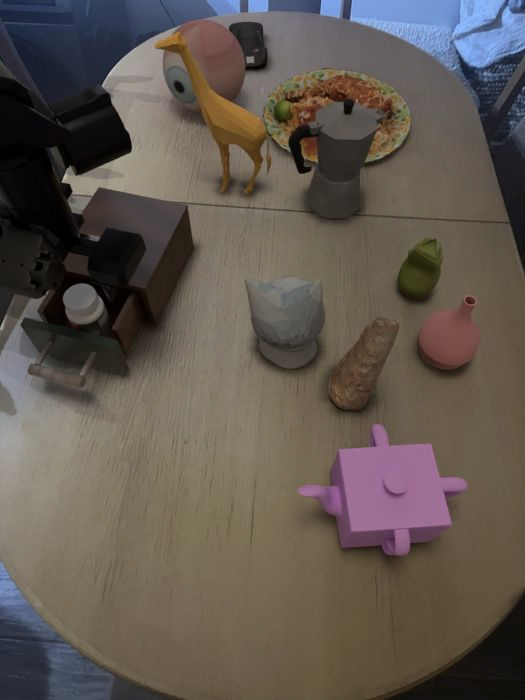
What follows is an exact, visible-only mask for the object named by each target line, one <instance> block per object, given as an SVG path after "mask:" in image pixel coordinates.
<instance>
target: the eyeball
mask: <svg viewBox="0 0 525 700" xmlns="http://www.w3.org/2000/svg"><path fill="white" fill-rule="evenodd" d="M182 29H183V32H182V33H183V37H184V38H185V39H186V40H187V47H188V49H189V51H190V53H191V55H192V57H193V59H194V61H195V63H196V65H197V67H198V69H199V71H200V72H201V74H202V76H203V77H204V79H205V81H206V82H207V84H208V86H209V87H210V89H212V90H213V91H214V92H215V93H216V94H217V95H219V96H221V97H223V98H224V99H226V100H228V101H230V102H232V103H234V101H235V100H236V98H237V97H238V96H239V94H240V92H241V91H242V89H243V85H244V83H245V79H246V71H245V59H244V54H243V51H242V49H241V46H240V44H239V42H238V41H237V39H236V38H235V36H234V35H233V34H232V33H231V32H230V31H229V28H228V27H226V26H224V25H223V24H221V23H219V22H217V21H214V20H212V19H206V18H202V19H201V18H200V19H199V18H198V19H193V20H190V21H187V22H185V23H183V24H181V25H180V26H179V27H177V28H176V30H174V31H173V33H172V34H171V35H173V34H175V33H177V32H180V31H181V30H182ZM162 73H163V77H164V81H165V83H166V85H167V88H168V90H169V91H170V93H171V94H172V96H173V97H174V98H175V100H176V101H177V102H178V103H180V104H181V105H182V106H183V107H184V108H187V109H189V110H190V111H193V112H196V113H200V114H202V111H201V107H200V104H199V102H198V99H197V97H196V96H195V93H194V90H193V87H192V84H191V81H190V78H189V75H188V72H187V69H186V67H185V65H184V62H183V60H182V58H181V56H180V54H178V53H174V52H170V51H166V50H163V56H162Z"/></svg>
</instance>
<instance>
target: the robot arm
mask: <svg viewBox="0 0 525 700" xmlns="http://www.w3.org/2000/svg"><path fill="white" fill-rule="evenodd" d="M47 149H49V151H50V152H51V154H52V156H53V158H54V160H55V162H57V164H58V165H59V166H60V168H61V169H62V170H64V171H65V170H67V169H70V168H71V170H72V171H73V174H74V176H76V177H77V176H82V175H84V174H87V173H88V172H91V171H93V170H95V169H97V168H100V167H102V166H105V165H107V164H109V163H111V162H113V161H116V160H118V159H120V158H123V157H125V156H127V155H129V154H131V153H132V151H133V144H132V139H131V135H130V132H129V131H128V130H127V128H126V127H125V124H124V122H123V120H122V118H121V116H120V113H119V112H118V111H117V109H116V107H115V106H114V104H113V101H112V98H111V94H110V93H109V92H108V90H106V89H105V88H104V87H103V86H102V85H101V84H99V83H95V84H92V85H90V86H88V87H86V88H84V89H82V90H81V91H80V92H78V93H75V94H73V95H70V96H67V97H65V98H63V99H59V100H58V101H55V102H52V103H50V104H48V105H47V104H46V103H45V102H44V101H43V100H42V99H41V97H40V96H39V95H38V94H37V93H36V92H35V91H34V90H32V89H30V88H29V87H28V86H25V85H23V84H22V83H21V81H20V80H18V78H17V77H16V75H14V74H13V73H12V71H11V70H9V68H8V67H7V66H6V65H5V64H4V62H3V61H2V60H1V59H0V201H1V203H0V290H2V291H4V292H6V293H7V294H13V295H18V296H20V297H21V296H22V297H25V298H30V299H31V300H39V299H41V298H43V297H46V295H47V294H48V292H49V291H50V290H51V291H57V290H58V289H59V288H60V285H61V283H62V280H63V277H64V274H65V271H66V269H65V265H64V264H63V263H62V262H64V260H65V259H66V257H67V256H68V252H70V253H74V254H78V255H83V256H87V257H88V266H87V270H88V272H89V275H90V276H91V277H92V278H93V279H92V281H91V282H92V283H96V284H100V285H101V286H102V288H103V290H104V292H105V294H106V296H107V298H108V299H109V300H110V301H111V302H113V301H114V300H115V298H116V296H117V291H118V287H123V286H126V285H128V284H129V282H130V280H131V278H132V276H133V274H134V272H135V271H136V269H137V267H138V265H139V263H140V261H141V259H142V257H143V255H144V254H145V252H146V247H145V243H144V240H143V238H142V236H141V234H140V233H135V232H131V231H126V230H121V229H117V228H111V227H106V229H105V230H104V232H103V234H102V235H101V237H98V236H93V235H89V234H84V233H80V231H79V229H80V228H81V226H82V225H83V223H84V222H85V221H84V218H83V216H82V214H81V213H77V212H73V211H72V207H71V205H70V203H69V199H70V197H71V196H72V195H73V193H74V191H73V187H72V186H71V184H70V183H67V182H63V181H60V179H59V176H58V173H57V172H56V169H55V166H54V165H53V161H52V159H51V157H50V154H49V152H48V150H47Z"/></svg>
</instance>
